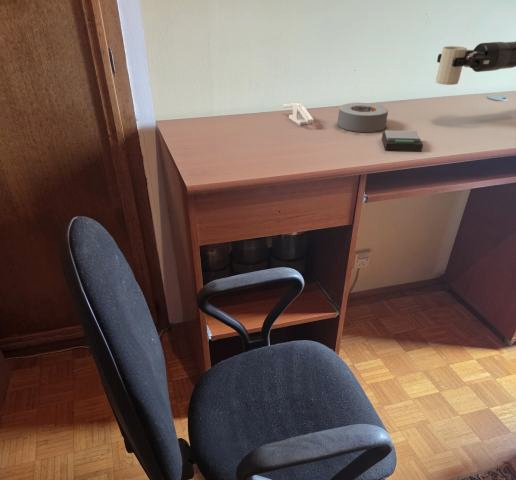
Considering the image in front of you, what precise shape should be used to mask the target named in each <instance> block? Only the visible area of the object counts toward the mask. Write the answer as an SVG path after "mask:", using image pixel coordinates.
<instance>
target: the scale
mask: <svg viewBox="0 0 516 480" xmlns="http://www.w3.org/2000/svg"><path fill="white" fill-rule="evenodd" d="M381 142H382V145H383V149H384V151H385V152H413V153H417V152H418V153H419V152H420V153H421V152H423V151H422V150H423V147H424V144H423V142H422V139H421V137H420V135H419V134H418V132H417V130H386V129H384V132H382V135H381Z"/></svg>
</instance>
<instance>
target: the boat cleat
mask: <svg viewBox="0 0 516 480" xmlns="http://www.w3.org/2000/svg"><path fill="white" fill-rule="evenodd" d="M282 108H292V114H289V115H288V118H289V119H290V120H292V121H293V122H295V123H296V124H297V125H299V126H304V125H311V124H312V123H314V121H315V119H314V118H313V116H312V115H311V114H310V113H309V111H308V110H307V108H306V106H304V104H303V103H302V102H293V103H284V104H283V105H282Z"/></svg>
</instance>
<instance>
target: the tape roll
mask: <svg viewBox="0 0 516 480" xmlns="http://www.w3.org/2000/svg"><path fill="white" fill-rule="evenodd" d="M388 113H389V109H388V108H387V107H385V106H383V105H380V104H375V103H371V102H370V103H369V102H350V103H345V104H341V105H340V106H339V107H338V116H337V126H338V127H339V128H341V129H342V130H346V131H349V132H356V133H376V132H380V131H383V130H385V129H386V125H387V124H386V123H387V120H388V115H389V114H388Z"/></svg>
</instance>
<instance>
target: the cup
mask: <svg viewBox="0 0 516 480" xmlns="http://www.w3.org/2000/svg"><path fill="white" fill-rule="evenodd" d="M466 50H468V48H467V47H464V46H457V45H455V46H454V45H452V46H451V45H450V46H449V45H448V46H444V47H442V50H441V54H442V55H441V60H440V63H438V64H439V65H438V69H437V73H436V78H435V83H436V84H439V85H445V86H455V85H458V84H459V81H460V78H461V73H462V71H463V66H460V67H453V66H452V63H453V59H454V58H459V57H465V54H466Z"/></svg>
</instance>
